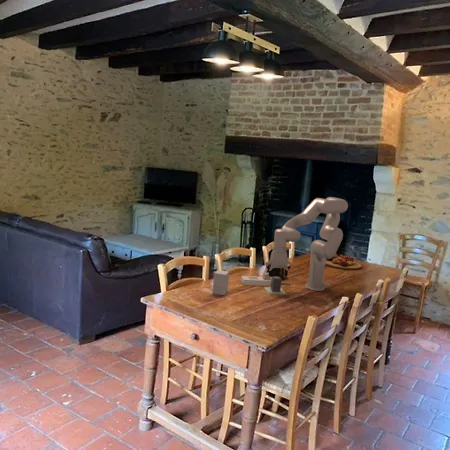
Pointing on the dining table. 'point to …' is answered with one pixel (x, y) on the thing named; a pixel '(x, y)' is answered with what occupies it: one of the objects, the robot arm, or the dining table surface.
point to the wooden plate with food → (342, 262)
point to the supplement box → (220, 282)
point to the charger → (275, 284)
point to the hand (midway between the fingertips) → (277, 276)
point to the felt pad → (274, 292)
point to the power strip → (257, 281)
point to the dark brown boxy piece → (277, 272)
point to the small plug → (266, 276)
